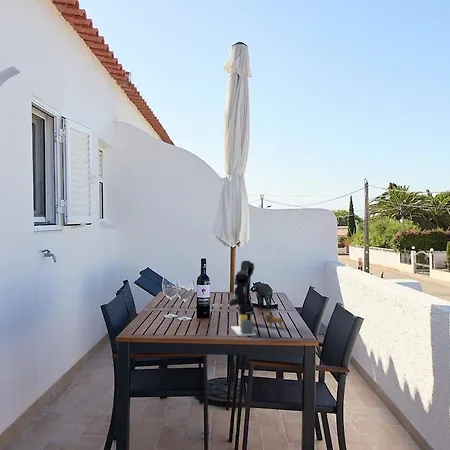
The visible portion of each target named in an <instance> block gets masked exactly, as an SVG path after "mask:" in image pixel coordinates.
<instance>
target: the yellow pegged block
mask: <svg viewBox="0 0 450 450" xmlns="http://www.w3.org/2000/svg"><path fill="white" fill-rule="evenodd" d="M238 317H239V318H238V321H239V323H238V326H239V327H240V324H241V320H247V315H246V314H239V315H238Z"/></svg>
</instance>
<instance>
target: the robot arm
mask: <svg viewBox="0 0 450 450" xmlns="http://www.w3.org/2000/svg"><path fill="white" fill-rule="evenodd" d="M254 271H255V264H254V262H251V261H250V260H242V261H241V263H240V270H239V271H237V272H236V275H235V279H234V285H235V288H234V294H235V297H233V298H231V299H228V300H227V303H228V306H229V307H233V306H234V307H235V306H236V307H235V308H236V310H238V313H239V314H246V315H247V320H251V321H252V315H254V314H255V308H254V306H253V302H252V300H251V299H250V298H251V282H252V281H251V279H252V276H253V274H254Z"/></svg>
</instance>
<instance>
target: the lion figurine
mask: <svg viewBox="0 0 450 450" xmlns="http://www.w3.org/2000/svg"><path fill="white" fill-rule="evenodd" d="M263 319H264V321H265V322H267V323H268V324H269V326H268V328H272V327H273V324H278V325H279V326H278V328H280V330H283V329H284V328H285V329H287V326H285V324H284V320H283V319H282V318H281V317H274V315H272V314H270V313H269V312H264V313H263Z"/></svg>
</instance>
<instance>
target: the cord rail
mask: <svg viewBox="0 0 450 450" xmlns="http://www.w3.org/2000/svg"><path fill="white" fill-rule="evenodd" d="M237 323H238V324H239V320H238V322H237ZM253 323H254V322H253V320H252V319H251V320H241V324H240V327H239V325H237V326H235V325H234V326H231V327H230V328H231V330H233V331H234V333H236V334H237V336H239V337H240V336H241V337H245V336H256V335H257V333H256V332H254V330H253V327H254V326H253Z"/></svg>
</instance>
